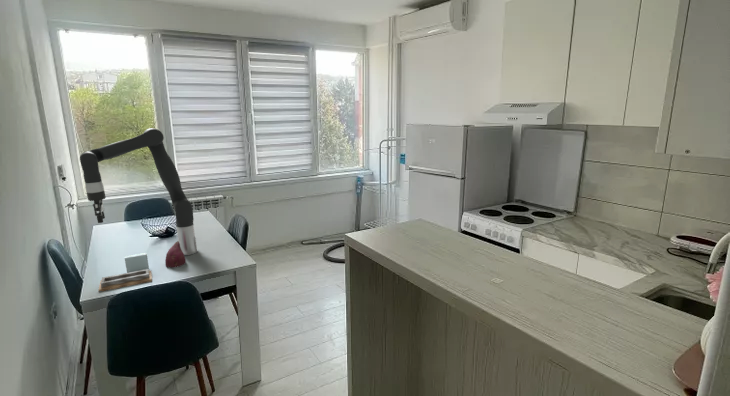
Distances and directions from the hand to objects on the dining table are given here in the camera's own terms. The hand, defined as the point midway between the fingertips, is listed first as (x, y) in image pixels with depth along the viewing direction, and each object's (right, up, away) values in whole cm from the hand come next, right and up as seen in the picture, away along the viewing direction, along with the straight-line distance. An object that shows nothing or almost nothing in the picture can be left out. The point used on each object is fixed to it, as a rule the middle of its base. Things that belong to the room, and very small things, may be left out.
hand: (101, 220), depth 195 cm
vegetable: (+33, -25, +13) cm, 43 cm away
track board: (+19, -30, -9) cm, 37 cm away
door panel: (+17, -27, +4) cm, 32 cm away
